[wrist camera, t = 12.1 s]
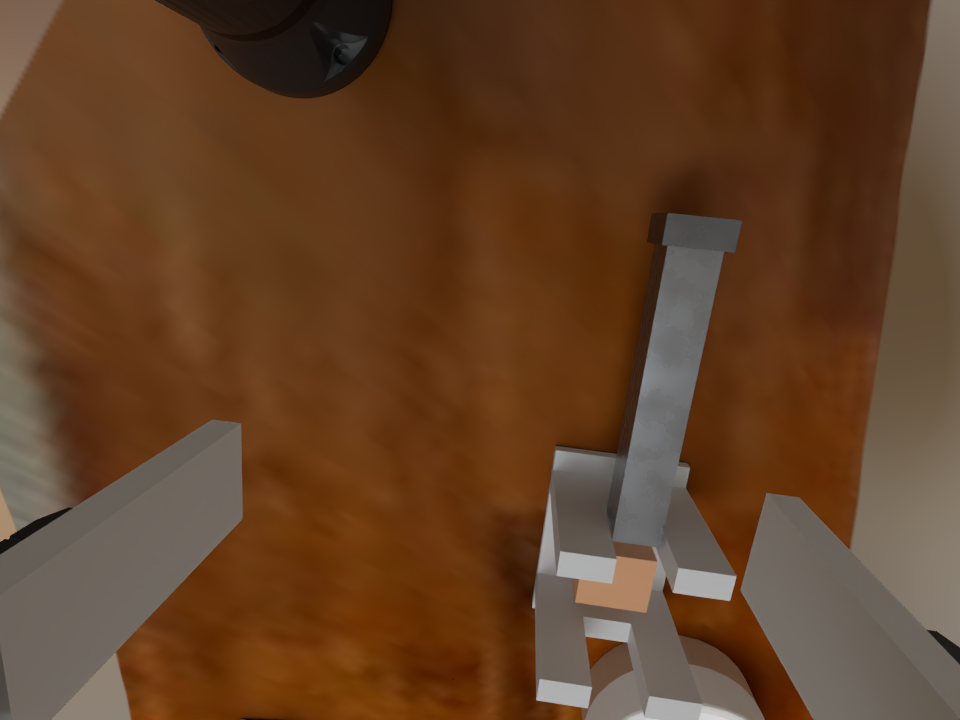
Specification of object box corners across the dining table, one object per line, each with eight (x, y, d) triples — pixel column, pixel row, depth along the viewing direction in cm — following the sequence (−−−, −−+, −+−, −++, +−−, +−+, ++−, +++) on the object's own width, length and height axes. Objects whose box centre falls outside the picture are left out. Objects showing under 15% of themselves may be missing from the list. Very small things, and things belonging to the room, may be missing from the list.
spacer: (584, 551, 45) (575, 602, 46) (657, 561, 44) (646, 612, 46) (577, 513, 51) (570, 559, 52) (642, 522, 50) (633, 568, 51)
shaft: (652, 213, 39) (667, 212, 34) (717, 220, 38) (742, 220, 34) (598, 511, 45) (606, 543, 41) (654, 519, 45) (668, 552, 40)
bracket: (555, 445, 50) (564, 525, 37) (686, 463, 49) (743, 550, 36) (532, 600, 55) (532, 720, 42) (652, 618, 54) (691, 746, 41)
